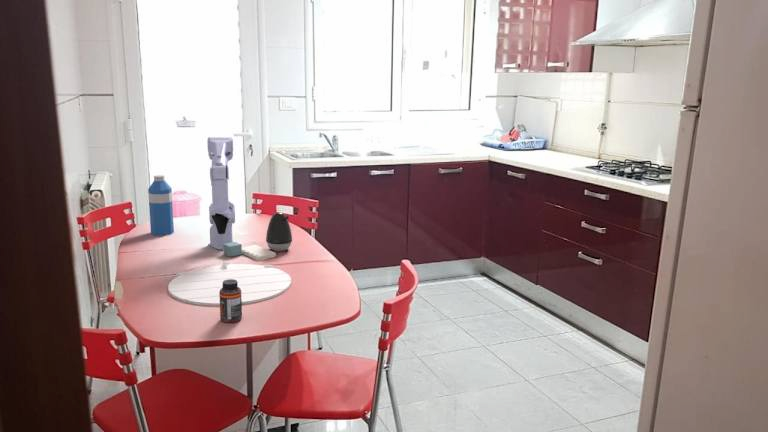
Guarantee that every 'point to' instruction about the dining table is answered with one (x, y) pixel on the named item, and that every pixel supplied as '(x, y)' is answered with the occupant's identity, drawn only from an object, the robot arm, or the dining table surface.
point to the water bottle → (160, 207)
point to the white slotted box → (257, 252)
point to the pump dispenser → (279, 233)
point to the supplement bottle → (230, 301)
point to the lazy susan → (209, 280)
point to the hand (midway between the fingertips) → (221, 233)
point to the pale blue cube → (232, 249)
